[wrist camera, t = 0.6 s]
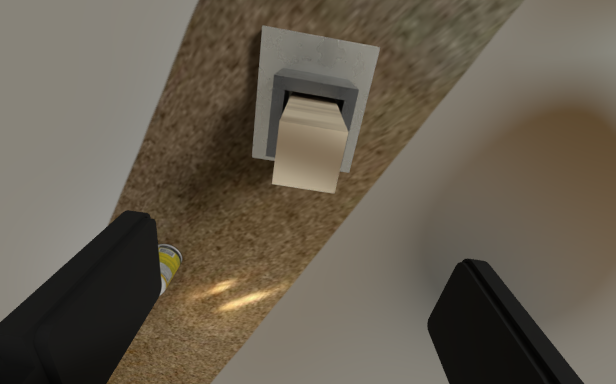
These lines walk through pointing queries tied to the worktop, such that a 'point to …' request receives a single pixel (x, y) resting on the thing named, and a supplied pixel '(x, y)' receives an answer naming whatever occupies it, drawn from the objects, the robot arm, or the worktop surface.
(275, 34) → the stand base
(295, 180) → the column
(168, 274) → the supplement bottle
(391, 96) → the worktop surface
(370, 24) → the worktop surface
